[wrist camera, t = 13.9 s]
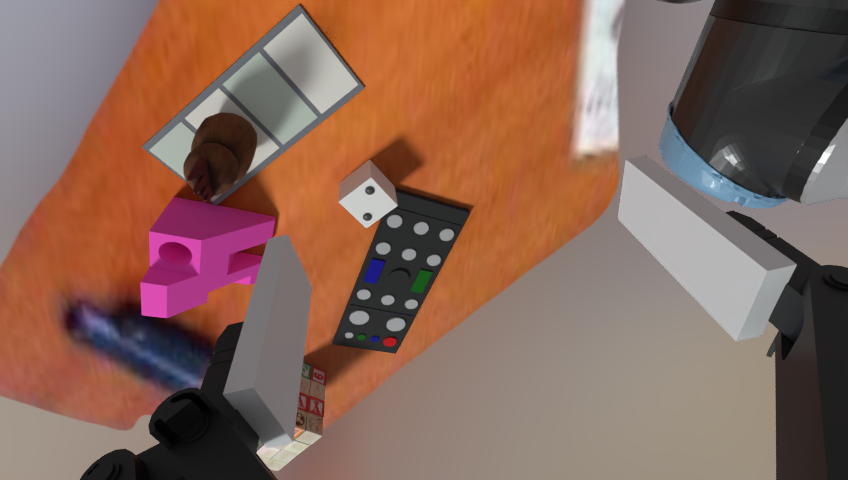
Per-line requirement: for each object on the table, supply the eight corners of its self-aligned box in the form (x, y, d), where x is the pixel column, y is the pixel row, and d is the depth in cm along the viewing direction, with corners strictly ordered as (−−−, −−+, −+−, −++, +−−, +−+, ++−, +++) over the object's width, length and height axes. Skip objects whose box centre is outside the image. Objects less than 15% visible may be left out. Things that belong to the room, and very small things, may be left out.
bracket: (173, 260, 56) (141, 315, 47) (174, 196, 50) (139, 245, 42) (265, 274, 59) (251, 328, 51) (275, 216, 54) (261, 265, 46)
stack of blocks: (260, 428, 81) (247, 495, 71) (230, 418, 78) (213, 487, 68) (327, 371, 74) (323, 437, 64) (297, 358, 71) (287, 425, 61)
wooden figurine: (213, 95, 44) (161, 151, 32) (268, 117, 46) (238, 178, 34) (200, 149, 47) (148, 219, 35) (252, 167, 49) (219, 240, 37)
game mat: (299, 4, 40) (299, 4, 40) (364, 87, 46) (364, 88, 46) (142, 146, 46) (141, 147, 46) (216, 205, 52) (216, 206, 52)
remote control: (333, 337, 69) (332, 346, 68) (393, 185, 54) (394, 193, 53) (395, 346, 73) (395, 355, 71) (467, 207, 58) (470, 215, 56)
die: (369, 159, 51) (371, 177, 47) (394, 186, 54) (397, 206, 50) (339, 182, 52) (338, 202, 48) (365, 207, 55) (366, 228, 51)
